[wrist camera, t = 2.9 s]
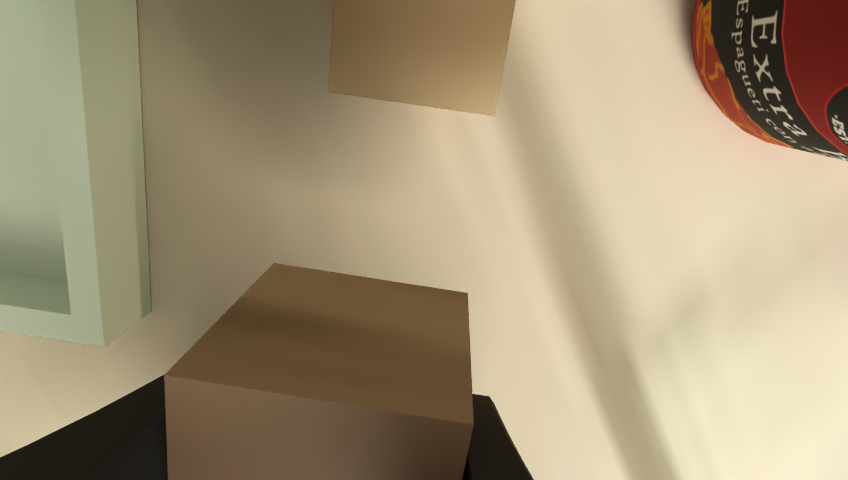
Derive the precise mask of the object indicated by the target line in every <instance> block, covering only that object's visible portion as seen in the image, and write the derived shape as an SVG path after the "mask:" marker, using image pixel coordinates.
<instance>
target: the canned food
mask: <svg viewBox="0 0 848 480" xmlns="http://www.w3.org/2000/svg"><path fill="white" fill-rule="evenodd" d="M692 46H693V52H694V57H695V63H696V69H697V71H698V73H699V76H700V78H701V81H702V83H703V85H704V88H705V90H706V91H707V93H708V94H709V95H710V97H711V98H712V99H713V101H714V102H715V103H716V105H717V106H718V108H719V109H720V110H721V111H722V112H723V113H724V115H725V116H726V117H728V118H729V119H730V120H731V121H732V122H734V123H735V124H736V125H737V126H738V127H740V128H741V129H742V130H743V131H745V132H747V133H749V134H751V135H753V136H755V137H757V138H759V139H761V140H763V141H765V142H768V143H772V144H776V145H781V146H785V147H789V148H793V149H798V150H802V151H807V152H811V153H815V154H820V155H824V156H828V157H833V158H837V159H841V160H846V161H848V0H697V2H696V7H695V11H694V16H693V35H692Z"/></svg>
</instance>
